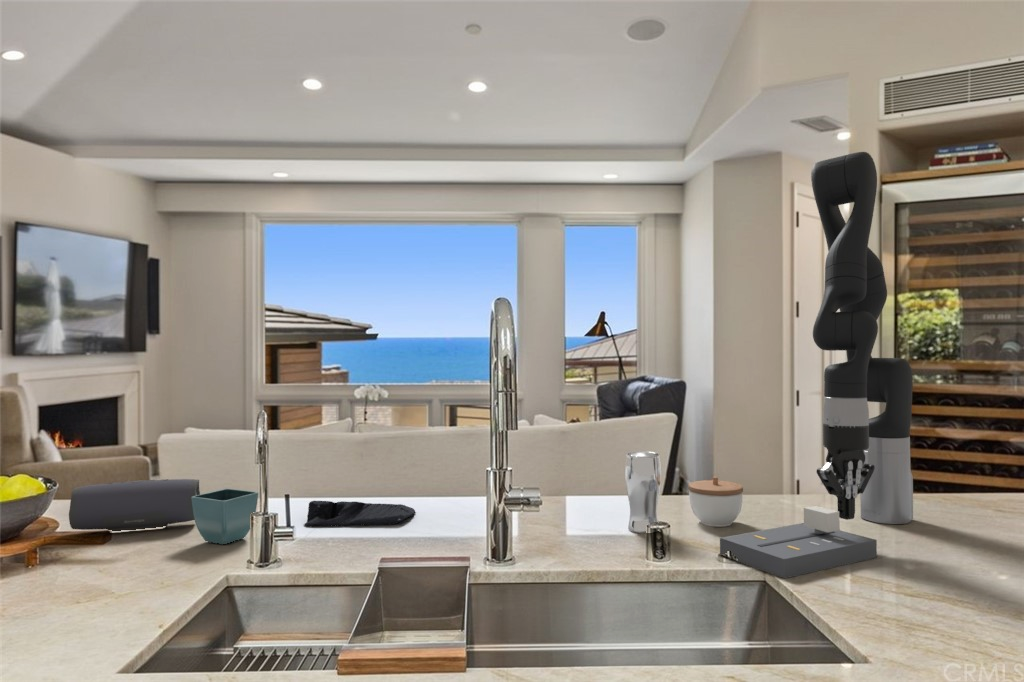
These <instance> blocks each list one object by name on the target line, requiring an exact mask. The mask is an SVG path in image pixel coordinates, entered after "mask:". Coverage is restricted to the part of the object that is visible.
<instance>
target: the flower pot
mask: <svg viewBox="0 0 1024 682" xmlns="http://www.w3.org/2000/svg"><path fill="white" fill-rule="evenodd" d="M258 498H259V492H258V491H251V490H243V489H235V488H223V489H219V490H215V491H211V492H205V493H200V495H196V496H193V497H191V499H192V506H193V513H194V520H193V521H194V523H195V526H196V528H197V531H198V533H199V534H200V536H201V537H202V539H203V540H204V541H205V542H206V541H208V542H207V543H211V542H213V543H214V544H217V543H219V544H218V545H223V544H226V545H228V544H227V543H229V544H231V543H230V542H232V543H234V542H236V541H235V540H238V539H241V538H244V537H245V538H246V537H247V534H248V533H249V532H250V530H251V528H250V514H251V513H253V512H256V513H257V505H258ZM245 538H244V539H245ZM241 540H242V539H241ZM233 541H234V542H233ZM238 541H239V540H238Z"/></svg>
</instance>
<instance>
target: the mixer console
mask: <svg viewBox="0 0 1024 682" xmlns="http://www.w3.org/2000/svg"><path fill="white" fill-rule="evenodd" d="M877 543H878V542H877V539H874V538H870V537H867V536H864V535H860V534H855V533H851V532H848V531H843V530H838V531H832V532H828V533H824V534H818V533H815V529H813V528H810V527H806V526H804V522H801V523H796V524H790V525H784V526H779V527H773V528H767V529H762V530H756V531H751V532H745V533H741V534H739V533H738V534H735V535H728V536H723V537H719V555H720V554H725V553H727V551H731V552H732V553H734V555H735V556H736V558H737V559H738V561H739V562H738V561H737V562H738V563H740V562H741V563H740V564H743V565H747V566H749V567H752V568H754V569H758V570H760V571H763V572H766V573H768V574H771V575H773V576H777V577H779V578H783V579H786V578H787V579H788V578H791V577H797V576H801V575H806V574H810V573H814V572H817V571H823V570H829V569H832V568H837V567H840V566H845V565H850V564H854V563H857V562H858V563H859V562H862V561H867V560H872V559H876V558H877V557H878V555H877V554H878V553H877V552H878V551H877V550H878V549H877V545H878V544H877Z"/></svg>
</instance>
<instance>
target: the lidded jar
mask: <svg viewBox="0 0 1024 682" xmlns="http://www.w3.org/2000/svg"><path fill="white" fill-rule="evenodd" d="M688 490H689V491H688V496H689V497H688V498H689V504H690V508H691V510H692V513H693V514H694V516H695V517H696V518H697V519H698V520H699V522H700V524H702V525H705V526H708V527H713V528H714V527H715V528H716V527H718V528H720V527H721V528H723V527H729V526H731V525H732V523H733V522H734V521H735V520H736V519H738V517H739V515H740V513H741V511H742V506H743V492H744V487H743V485H742V484H740V483H738V482H734V481H727V480H719V477H718V476H713V477H712V479H709V480H705V479H704V480H697V481H692V482H690V483H688Z"/></svg>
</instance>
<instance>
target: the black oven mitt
mask: <svg viewBox="0 0 1024 682" xmlns="http://www.w3.org/2000/svg"><path fill="white" fill-rule="evenodd" d="M307 509H308V511H307V519H306V522H305V523H304V526H306V527H310V526H312V527H330V528H331V527H349V526H350V527H351V526H357V527H358V526H359V527H360V526H362V527H363V526H366V527H367V526H389V525H396V524H398V523H400V522H402V521H404V520H405V519H407V518H409V517H412V516H413V515H415V514H416V513H417V512H416V510H415V509H414V508H413V507H411V506H407V505H405V504H401V503H399V504H397V503H396V504H395V503H370V502H369V503H366V502H361V501H337V502H334V501H330V500H311V501H309V503H308V508H307ZM312 527H311V528H312Z"/></svg>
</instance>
